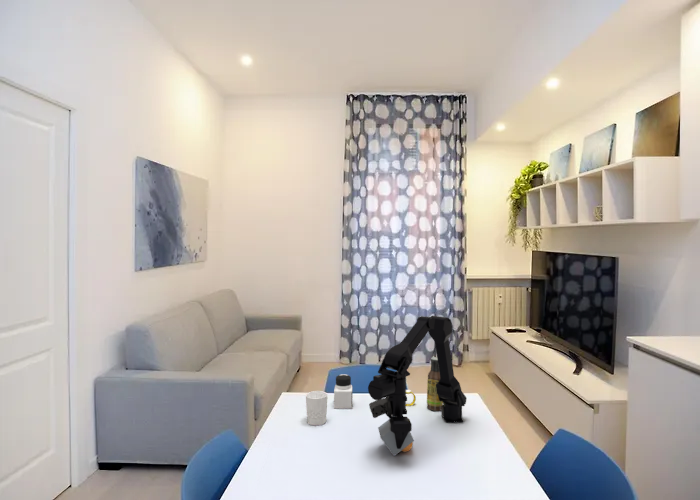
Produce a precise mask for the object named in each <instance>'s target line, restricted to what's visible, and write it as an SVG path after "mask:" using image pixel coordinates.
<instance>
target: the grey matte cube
mask: <svg viewBox="0 0 700 500" xmlns="http://www.w3.org/2000/svg"><path fill="white" fill-rule="evenodd" d="M393 417H395V416H393ZM377 429H378V433H379V437H380V439H381V440H382V441H381V442H383V443H384V445H385V446H386V447H387V449H388V450H389V451H390V453H391V455H393V457H395V456H396V455H398V453H400V452H402V451H401V450H403V449H404V448H405V447H407V446H408V445H409V444H411V443H412V442H413V443H414V441H415V439H414V437H413V435H412V431H410V432H409V433H408V435H407V436H406V438H405V440H404V442H403V445H402V447H401V449H397V446H396V441H395V435H394V433H393V432H391V431H390V428H389V419H387V420H386V421H385V422H383V423H382V424H381V425H379V426H378V427H377Z"/></svg>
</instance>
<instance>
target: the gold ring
mask: <svg viewBox="0 0 700 500" xmlns="http://www.w3.org/2000/svg"><path fill="white" fill-rule="evenodd" d="M409 394H412V396H413V400H412V402H411V403H406V407H408V406H409V407H411V406H413V405H415V404H416V403H415V402H416V400H417V399H416V395H415V393H414V392H412V390H411V389H406V395H409Z"/></svg>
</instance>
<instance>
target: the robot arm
mask: <svg viewBox="0 0 700 500" xmlns="http://www.w3.org/2000/svg"><path fill="white" fill-rule="evenodd" d="M427 334H429V336H430V338H432V340H433V341H434V345H435V353H436V357H437V359H438V366H439V372H440V380H439V382H438V383H437V384H436V389H437V394H438V397H439V401H442V402H443V405H442V410H441V417H442V418H443V420H444V422H445V423H448V424H449V423H452V424H453V423H464V419H463V407H465V405H466V404H467V396H466V395H465V394H464V392H463V391H462V387H461V384H460V382H459V381H458V379H457V377H456V376H455V374H454V373H455V372H454V365H453V359H452V353H451V346H450V338H451V336H452V334H453V322H452V319H450V318H449V317H448V316H447V317H446V316H439V315H430V316H424V315H421V316H418V317H417V319H416V322H415V323H414V325H413V326H412V328H411V329H409V332H408V333H407V334H406V335H405V337H404V338H403V339H402V340H401V341H400V342H399V343H398V344H395V345H394V346H392V347H391V348H390V349H389V350H388V351H386V352H385V355H384V356H383V360H382V362H381V364H380V366H379V368H378V371H377V375H374V376H373V378H372V380H371V381H370V382H369V383H368V387H367V391H368V394H369V396H370V397H371V399H373V400H374V401H371V402H370V403H369V405H368V406H369V410H370V412H371V414H372V415H371V416H372V418H373V419H376V418H378V417H380V416H383V415H385V416H387V417H388V420H389V428H390V431H391V432H393V433H394V435H395V441H396V446H397V449H401V447H402V445H403V442H404V440H405V438H406V436H407V435H408V433H409V432H412V430H413V429H412V428H413V426H412V425H413V424H412V422H411V419H410V418H408V416H404V415H408V410H407V406H406V404H407V403H406V402H407V401H408V397H407V394H406V390H407V377H408V376H410V375H411V372H409V371H408V370H409V367H411V366H410V365H411V364H412V362H413V354H414V352H415V350H416V349H417V348H418V347H419V345H420V344H421V343H422V341H423V340H424V338H425V337H426V336H427ZM393 416H395V417H393Z"/></svg>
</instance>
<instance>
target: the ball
mask: <svg viewBox="0 0 700 500" xmlns="http://www.w3.org/2000/svg"><path fill="white" fill-rule="evenodd" d="M413 443H414V441H413V442H412V443H411V444H409V445H408V446H407V447H405V448H404V449H403V450H401V451H400V452H404V453H405V452H409V451H410V450H411V449H413V448H412V447H413Z"/></svg>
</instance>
